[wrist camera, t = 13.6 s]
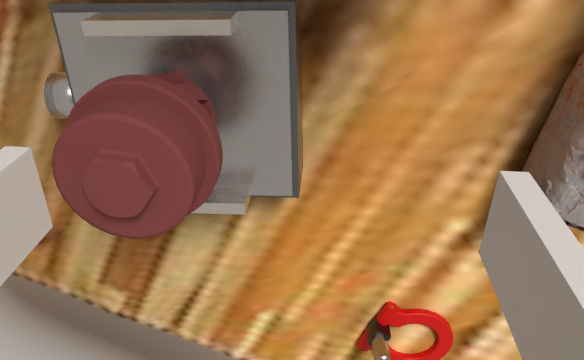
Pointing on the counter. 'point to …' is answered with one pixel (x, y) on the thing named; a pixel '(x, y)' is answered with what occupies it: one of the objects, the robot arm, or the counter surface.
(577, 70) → the food item
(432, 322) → the tow hook
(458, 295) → the counter surface
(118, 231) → the mechanical component
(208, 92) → the motor housing
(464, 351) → the counter surface
